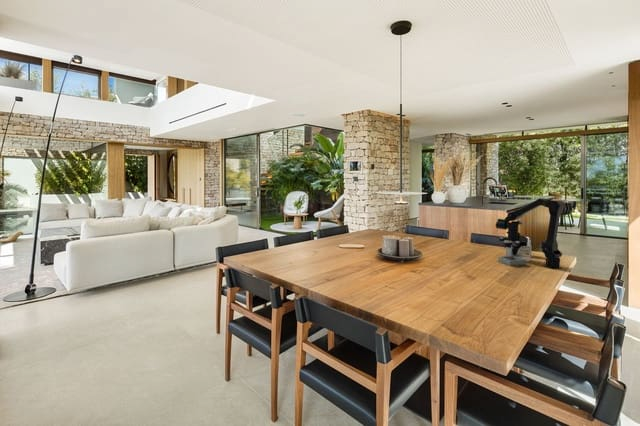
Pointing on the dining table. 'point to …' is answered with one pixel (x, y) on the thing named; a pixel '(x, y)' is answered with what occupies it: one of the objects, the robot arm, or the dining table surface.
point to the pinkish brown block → (524, 257)
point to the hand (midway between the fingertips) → (511, 254)
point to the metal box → (510, 252)
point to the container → (525, 248)
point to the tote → (512, 261)
